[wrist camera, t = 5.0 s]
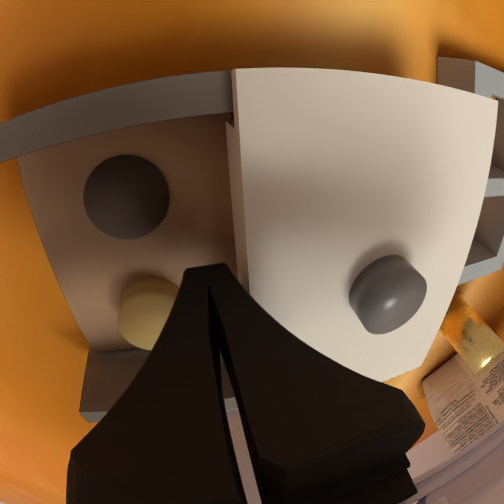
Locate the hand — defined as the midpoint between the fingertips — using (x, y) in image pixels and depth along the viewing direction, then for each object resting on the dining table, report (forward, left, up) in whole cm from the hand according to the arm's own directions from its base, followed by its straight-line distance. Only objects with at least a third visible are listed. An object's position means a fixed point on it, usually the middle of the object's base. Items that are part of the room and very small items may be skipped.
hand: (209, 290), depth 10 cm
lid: (0, -5, -1) cm, 5 cm away
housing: (0, 0, -4) cm, 4 cm away
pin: (-9, -17, -4) cm, 20 cm away
